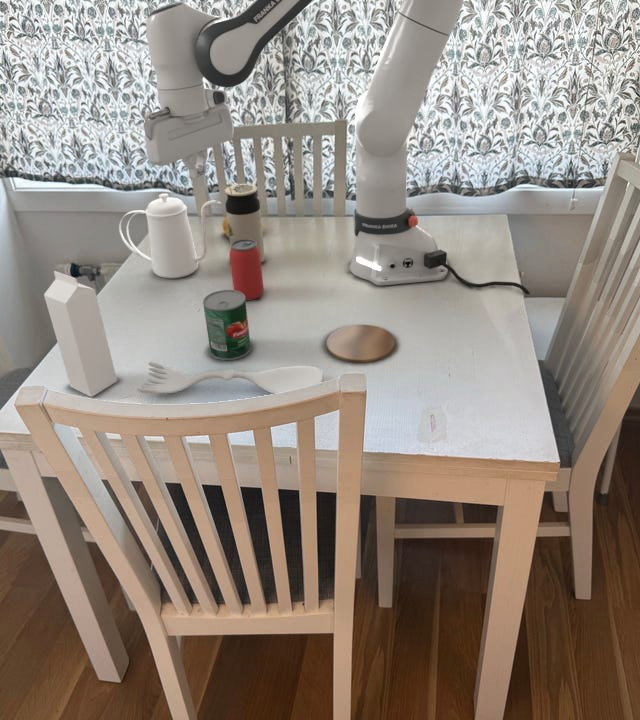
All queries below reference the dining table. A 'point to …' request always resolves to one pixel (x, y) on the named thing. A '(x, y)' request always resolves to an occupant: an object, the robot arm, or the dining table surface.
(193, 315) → the dining table surface
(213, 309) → the canned tomato
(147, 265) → the dining table surface
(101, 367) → the milk
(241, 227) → the travel mug
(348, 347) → the wooden trivet
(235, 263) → the beer can
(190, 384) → the white serving fork
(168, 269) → the coffeepot
